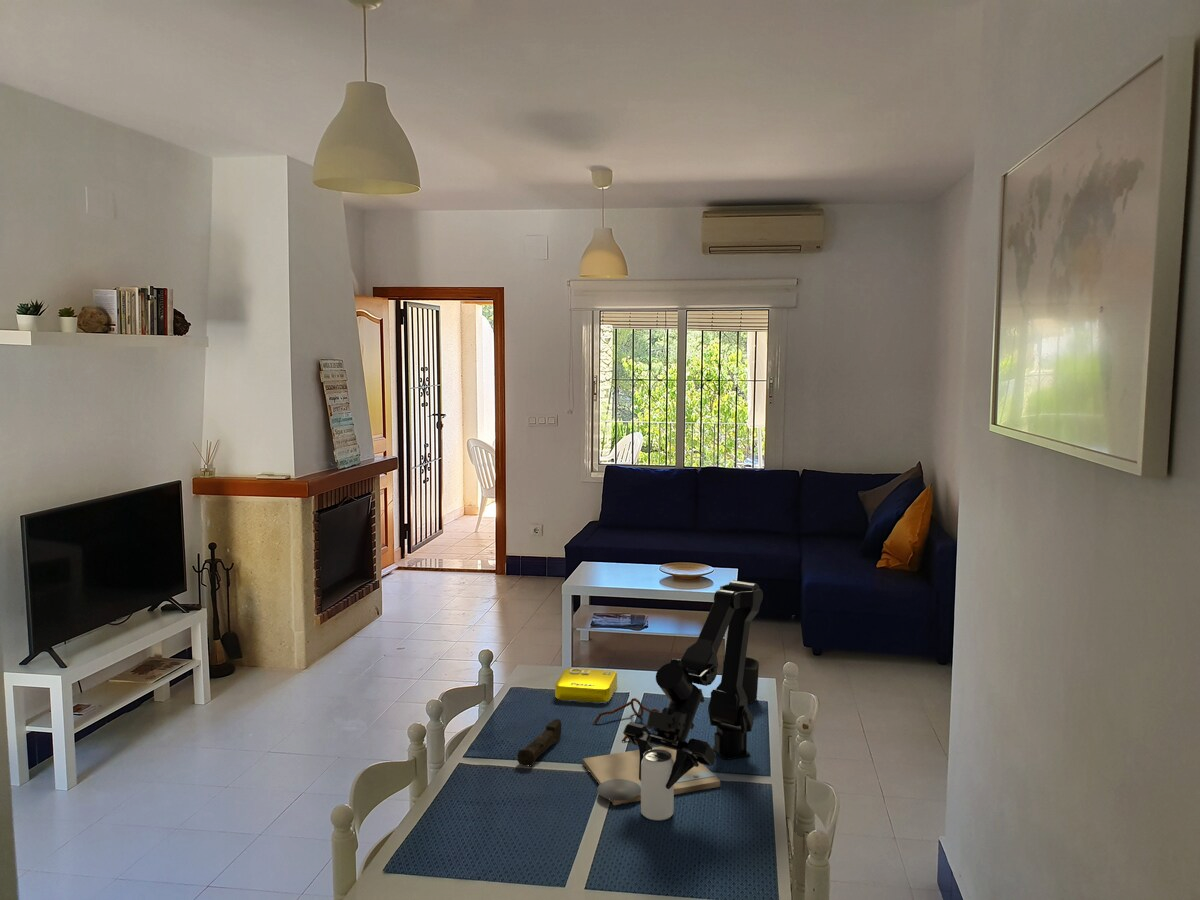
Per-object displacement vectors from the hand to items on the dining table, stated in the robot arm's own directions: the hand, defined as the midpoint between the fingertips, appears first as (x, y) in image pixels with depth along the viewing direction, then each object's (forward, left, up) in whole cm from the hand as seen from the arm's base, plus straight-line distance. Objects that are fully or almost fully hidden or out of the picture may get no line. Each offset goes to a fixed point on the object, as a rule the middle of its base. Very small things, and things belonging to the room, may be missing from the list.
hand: (653, 784), depth 174 cm
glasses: (-11, -42, -7) cm, 45 cm away
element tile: (-9, -68, -7) cm, 69 cm away
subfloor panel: (-5, -16, -7) cm, 18 cm away
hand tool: (+12, -37, -7) cm, 40 cm away
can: (-1, -1, -7) cm, 7 cm away
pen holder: (-46, -50, -7) cm, 68 cm away
